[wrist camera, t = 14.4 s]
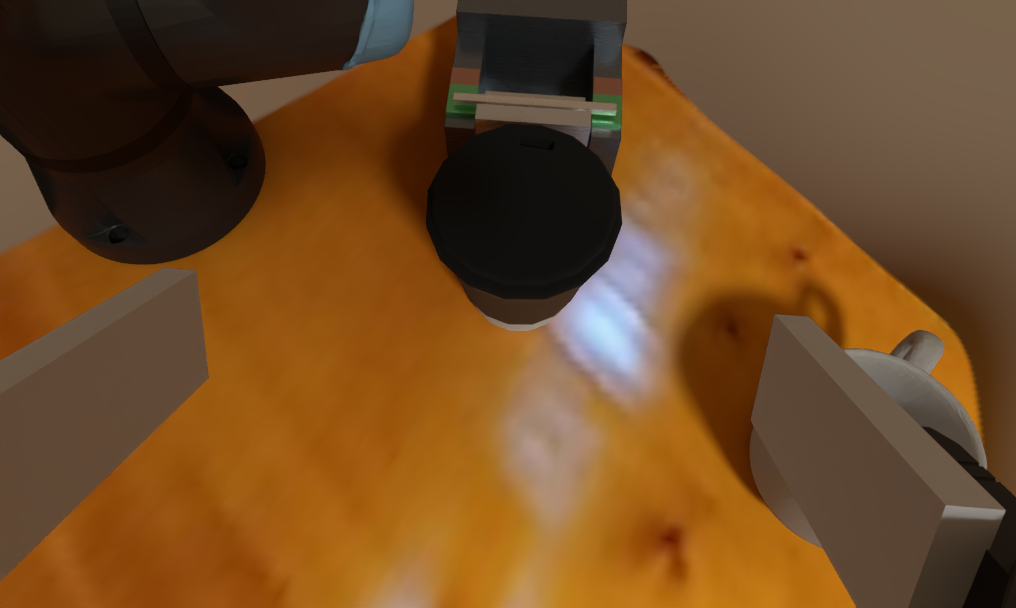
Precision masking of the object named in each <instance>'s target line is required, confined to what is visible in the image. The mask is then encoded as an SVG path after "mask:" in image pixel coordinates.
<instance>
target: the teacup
mask: <svg viewBox="0 0 1016 608" xmlns="http://www.w3.org/2000/svg"><path fill="white" fill-rule="evenodd" d="M842 350H844V351H845V352H846V353H847V354H848V355H849V356H850V357H851V358H852V359H853V360H854V361H855V362H856V363H857V364H858V365H859V366H860V367H861V368H862V369H863V370H864V371H865V372H866V373H867V374H868V375H869V376H870V377H871V378H872V379H873V380H874V381H875V382H876V383H877V384H878V385H879V386H880V387H881V388H882V389H883V390H884V391H885V392H886V393H887V394H888V395H889V396H890V397H891V398H892V399H893V400H894V401H895V402H896V403H897V404H898V405H899V406H900V407H902V408H903V409H904V410H905V411H906V412H907V413H908V414H909V415H910V416H911V417H912V418H913V419H914V420H915V421H916V422H917V423H918V424H919V425H920V426H923V427H931V428H933V429H934V430H936V431H938V432H939V433H941V434H943V435H945V436H946V437H948V438H950V439H951V440H953V441H955V442H956V443H958V444H959V445H961V446H962V447H963V448H964V449H965V450H966V451H967V452H968V453H969V454H970V455H971V456H972V457H973V458H974V459H976V460H977V461H978V462H979V466H983V467H984V468H985V469H986V470H987V462H986V455H985V452H984V448H983V445H982V441H981V438H980V436H979V433H978V431H977V429H976V427H975V424H974V422H973V421H972V420H971V418H970V416H969V415H968V413H967V411H966V410H965V409H964V407H963V406H962V405H961V403H960V402H959V401H958V400H957V399H956V398H955V397H954V396H953V395H952V394H951V393H950V392H949V391H948V390H947V389H946V388H945V387H944V386H943V385H942V384H941V383H939V382H938V381H937V380H936V379H935V378H934V377H932V376H931V375H930V374H929V373H930V372H931V371H932V369H933V368H934V367H935V365H936V364H937V363H938V361H939V359H940V358H941V356H942V354H943V351H944V343H943V342H942V340H941V339H940V338H938V337H937V336H936V335H934V334H932V333H930V332H928V331H924V330H917V331H914V332H912V333H911V334H909V335H908V336H907V337H906V338H905V339H903V340H902V341H901V342H900V343H899V344H898V345H897V346H896V347H895V348H894V350H893V351H892V352H891V353H890V354H885V353H882V352H878V351H874V350H870V349H857V348H853V349H842ZM749 454H750V464H751V470H752V474H753V478H754V480H755V483H756V486H757V488H758V490H759V492H760V494H761V496H762V498H763V500H764V502H765V503H766V505H767V506H768V507H769V509H770V510H771V511H772V513H773V514H774V515H775V516H776V517H777V518H778V519H779V520H780V521H781V522H782V523H783V524H784V525H785V526H786V527H787V528H788V529H790V530H791V531H792V532H793V533H795V534H796V535H798V536H799V537H801V538H802V539H804V540H806V541H808V542H810V543H812V544H814V545H816V546H818V547H821V548H823V547H822V545H821V544H820V542H819V540H818V538H817V537H816V535H815V533H814V531H813V530H812V528H811V526H810V524H809V523H808V521H807V519H806V517H805V516H804V514H803V512H802V510H801V509H800V507H799V505H798V503H797V502H796V500H795V498H794V496H793V495H792V493H791V491H790V489H789V488H788V486H787V484H786V482H785V481H784V479H783V477H782V475H781V473H780V472H779V470H778V468H777V466H776V465H775V463H774V461H773V459H772V458H771V456H770V454H769V452H768V451H767V449H766V447H765V445H764V444H763V442H762V440H761V438H760V437H759V435H758V433H757V431H756V430H755V428H754V427H753V430H752V433H751V439H750V449H749Z"/></svg>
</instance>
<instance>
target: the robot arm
mask: <svg viewBox="0 0 1016 608" xmlns="http://www.w3.org/2000/svg"><path fill="white" fill-rule="evenodd" d="M413 12H414V0H0V135H1V136H2V137H3V138H4V139H5V140H6V141H8V142H9V143H10V144H11V145H12V146H13V147H14V148H15V149H17V150H18V151H19V152H20V153H21V154H22V155H23V156H24V157H25V159H26V161H27V163H28V165H29V167H30V169H31V172H32V174H33V176H34V178H35V180H36V182H37V185H38V187H39V189H40V191H41V193H42V195H43V198H44V200H45V202H46V204H47V206H48V209H49V210H50V212H51V214H52V215H53V217H54V218H55V219H56V221H57V222H58V223H59V225H60V226H61V227H62V228H63V229H64V230H65V231H67V232H68V233H69V234H70V235H71V236H72V237H74V238H75V239H76V240H77V241H78V242H79V243H81V244H82V245H83V246H84V247H86V248H87V249H88V250H90V251H92V252H93V253H95V254H97V255H99V256H101V257H104V258H107V259H110V260H113V261H117V262H121V263H128V264H157V263H164V262H169V261H173V260H177V259H181V258H184V257H187V256H189V255H192V254H194V253H197V252H199V251H201V250H203V249H205V248H207V247H209V246H210V245H212V244H214V243H215V242H217V241H218V240H220V239H221V238H223V237H224V236H225V235H227V234H228V233H229V232H230V231H231V230H232V229H234V228H235V227H236V226H237V225H238V224H239V223H240V222H241V220H242V219H243V218H244V217H245V216H246V214H247V213H248V212H249V210H250V209H251V207H252V206H253V204H254V202H255V201H256V199H257V197H258V195H259V192H260V190H261V187H262V184H263V180H264V175H265V154H264V149H263V146H262V143H261V140H260V138H259V136H258V134H257V132H256V130H255V128H254V127H253V125H252V123H251V121H250V119H249V118H248V116H247V115H246V113H245V112H244V110H243V109H242V108H241V107H240V106H239V105H238V103H237V102H236V101H235V100H233V99H232V98H231V97H230V96H229V95H228V94H226V93H225V92H224V91H223V90H221V89H220V88H219V87H218V86H224V85H232V84H238V83H246V82H253V81H261V80H268V79H275V78H283V77H291V76H298V75H305V74H313V73H320V72H327V71H335V70H349V69H351V68H352V67H354V66H355V65H359V64H363V63H368V62H372V61H377V60H381V59H385V58H389V57H392V56H394V55H396V54H397V53H399V52H400V51H401V50H402V49H403V47H404V46H405V45H406V43H407V41H408V39H409V37H410V33H411V29H412V23H413ZM208 378H209V376H208V367H207V358H206V350H205V341H204V332H203V324H202V315H201V306H200V297H199V289H198V280H197V271H196V270H185V269H172V268H162V269H160V270H159V271H157V272H155V273H153V274H152V275H150V276H148V277H146V278H145V279H143V280H141V281H139V282H138V283H136V284H134V285H132V286H130V287H129V288H127V289H125V290H123V291H122V292H120V293H118V294H116V295H115V296H113V297H111V298H109V299H108V300H106V301H104V302H102V303H101V304H99V305H97V306H95V307H94V308H92V309H90V310H88V311H86V312H85V313H83V314H81V315H79V316H78V317H76V318H74V319H72V320H71V321H69V322H67V323H65V324H64V325H62V326H60V327H58V328H57V329H55V330H53V331H51V332H49V333H48V334H46V335H44V336H42V337H41V338H39V339H37V340H35V341H34V342H32V343H30V344H28V345H27V346H25V347H23V348H21V349H20V350H18V351H16V352H14V353H13V354H11V355H9V356H7V357H5V358H4V359H2V360H0V581H1V580H2V579H3V578H4V577H5V576H6V575H7V574H8V573H9V572H10V571H11V570H12V569H13V568H14V567H15V566H17V565H18V564H19V563H20V562H21V561H22V560H23V559H24V558H25V557H26V556H27V555H28V554H29V553H30V552H31V551H32V550H33V549H34V548H35V547H36V546H37V545H38V544H39V543H40V542H41V541H42V540H43V539H44V538H45V537H46V536H47V535H48V534H49V533H50V532H51V531H52V530H53V529H54V528H55V527H56V526H57V525H59V524H60V523H61V522H62V521H63V520H64V519H65V518H66V517H67V516H68V515H69V514H70V513H71V512H72V511H73V510H74V509H75V508H76V507H77V506H78V505H79V504H80V503H81V502H82V501H83V500H84V499H85V498H86V497H87V496H88V495H89V494H90V493H91V492H92V491H93V490H94V489H95V488H96V487H97V486H98V485H99V484H101V483H102V482H103V481H104V480H105V479H106V478H107V477H108V476H109V475H110V474H111V473H112V472H113V471H114V470H115V469H116V468H117V467H118V466H119V465H120V464H121V463H122V462H123V461H124V460H125V459H126V458H127V457H128V456H129V455H130V454H131V453H132V452H133V451H134V450H135V449H136V448H137V447H138V446H139V445H140V444H141V443H143V442H144V441H145V440H146V439H147V438H148V437H149V436H150V435H151V434H152V433H153V432H154V431H155V430H156V429H157V428H158V427H159V426H160V425H161V424H162V423H163V422H164V421H165V420H166V419H167V418H168V417H169V416H170V415H171V414H172V413H173V412H174V411H175V410H176V409H177V408H178V407H179V406H180V405H181V404H182V403H183V402H184V401H186V400H187V399H188V398H189V397H190V396H191V395H192V394H193V393H194V392H195V391H196V390H197V389H198V388H199V387H200V386H201V385H202V384H203V383H204V382H205V381H206V380H207V379H208ZM750 421H751V423H752V424H753V426H754V428H755V430H756V431H757V433H758V435H759V437H760V438H761V440H762V442H763V444H764V445H765V447H766V449H767V451H768V452H769V454H770V456H771V458H772V459H773V461H774V463H775V465H776V466H777V468H778V470H779V472H780V473H781V475H782V477H783V479H784V481H785V482H786V484H787V486H788V488H789V489H790V491H791V493H792V495H793V496H794V498H795V500H796V502H797V503H798V505H799V507H800V509H801V510H802V512H803V514H804V516H805V517H806V519H807V521H808V523H809V524H810V526H811V528H812V530H813V531H814V533H815V535H816V537H817V538H818V540H819V542H820V544H821V545H822V547H823V549H824V551H825V552H826V554H827V556H828V558H829V560H830V561H831V563H832V565H833V567H834V568H835V570H836V572H837V574H838V575H839V577H840V579H841V581H842V582H843V584H844V586H845V588H846V589H847V591H848V593H849V595H850V596H851V598H852V600H853V602H854V603H855V605H856V607H857V608H1016V497H1015V496H1014V495H1013V494H1012V493H1011V492H1010V491H1009V490H1008V489H1006V488H1005V487H1004V486H1003V485H1002V484H1001V483H1000V482H996V481H995V477H993V475H992V474H991V473H989V472H988V471H987V470H986V469H985V468H984V467H983V466H979V462H978V461H977V460H976V459H974V458H973V457H972V456H971V455H970V454H969V453H968V452H967V451H966V450H965V449H964V448H963V447H962V446H961V445H959V444H958V443H956V442H955V441H953V440H951V439H950V438H948V437H946V436H945V435H943V434H941V433H939V432H938V431H936V430H934V429H933V428H931V427H923V426H920V425H919V424H918V423H917V422H916V421H915V420H914V419H913V418H912V417H911V416H910V415H909V414H908V413H907V412H906V411H905V410H904V409H903V408H902V407H900V406H899V405H898V404H897V403H896V402H895V401H894V400H893V399H892V398H891V397H890V396H889V395H888V394H887V393H886V392H885V391H884V390H883V389H882V388H881V387H880V386H879V385H878V384H877V383H876V382H875V381H874V380H873V379H872V378H871V377H870V376H869V375H868V374H867V373H866V372H865V371H864V370H863V369H862V368H861V367H860V366H859V365H858V364H857V363H856V362H855V361H854V360H853V359H852V358H851V357H850V356H849V355H848V354H847V353H846V352H845V351H844V350H842V349H841V348H840V347H839V346H838V345H837V344H836V343H835V342H834V341H833V340H832V339H831V338H830V337H829V336H828V335H827V334H826V333H825V332H824V331H823V330H822V329H821V328H820V327H819V326H818V325H817V324H816V323H815V322H814V321H813V320H812V319H811V318H810V317H808V316H794V315H781V314H774V319H773V323H772V328H771V332H770V337H769V341H768V345H767V350H766V354H765V359H764V363H763V367H762V372H761V376H760V381H759V385H758V389H757V394H756V398H755V403H754V407H753V411H752V416H751V420H750Z"/></svg>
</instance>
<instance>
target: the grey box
mask: <svg viewBox="0 0 1016 608" xmlns="http://www.w3.org/2000/svg"><path fill="white" fill-rule="evenodd" d="M456 14H457V27H458V37H457V44H456V51H455V58H454V64H453V67H452V73H451V80H450V87H449V93H448V100H447V107H446V119H445V126H444V128H445V136H446V145H447V153H448V156H449V155H450V154H451V153H452V152H454V151H455V150H456V149H457V148H459V147H460V146H461V145H463V144H464V143H465V142H466V141H468V140H469V139H470V138H471V137H473V136H474V135H476V126H475V116H476V108H477V106H467V105H453V96H454V93H468V94H483V95H485V93H486V91H495V92H510V93H524V94H539V95H554V96H568V97H583V98H585V102H599V103H613V104H617V105H616V115H615V116H611V115H597V114H591V129H590V134H589V139H588V144H587V147H588V148H589V149H590V150H592V151H593V152H594V153H595V154H597V155H598V156H599V157H600V159H601V161H602V162H603V163H604V165H605V167H606V168H607V170H608V172H609V174H610V175H612V171H613V167H614V163H615V160H616V156H617V152H618V148H619V145H620V141H621V126H622V42H623V37H624V32H625V28H626V24H627V0H458V4H457V10H456Z"/></svg>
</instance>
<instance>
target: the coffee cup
mask: <svg viewBox="0 0 1016 608" xmlns="http://www.w3.org/2000/svg"><path fill="white" fill-rule="evenodd" d="M426 225H427V230H428V232H429V234H430V237H431V239H432V241H433V244H434V246H435V248H436V251H437V253H438V256H439V258H440V260H441V261H442V262H443V263H444V264H445V265H446V266H447V267H448V268H450V269H451V270H452V271H453V272H454V273H455V274H456V275H457V276H458V278H459V280H460V282H461V284H462V286H463V288H464V290H465V292H466V294H467V296H468V298H469V300H470V301H471V302H472V303H473V304H474V305H475V306H476V308H477V310H478V311H479V312H480V313H481V314H482V315H483V316H484V317H485V318H486V319H487V320H488V321H489V322H490V323H491V324H494V325H496V326H499V327H501V328H504V329H507V330H509V331H530V330H532V329H535V328H537V327H540V326H543V325H545V324H547V323H548V322H550V321H551V320H552V319H553V318H554V317H555V316H556V315H557V314H558V313H559V312H560V311H561V310H562V309H563V308H564V307H565V306H566V305H567V304H568V303H569V302H570V301H571V300H572V298H573V297H574V295H575V294H576V292H577V291H578V289H579V288H580V287H581V286H582V285H583V284H584V283H585V282H586V281H587V280H588V279H589V278H590V277H591V276H592V275H593V274H594V273H596V272H597V271H598V270H599V269H600V268H601V267H602V266H603V265H604V264H605V263H606V262H607V261H608V260H609V257H610V255H611V252H612V249H613V247H614V244H615V242H616V239H617V237H618V234H619V232H620V229H621V226H622V216H621V205H620V193H619V189H618V188H617V186H616V184H615V182H614V181H613V179H612V177H611V175H610V174H609V172H608V170H607V168H606V167H605V165H604V163H603V162H602V161H601V159H600V157H599V156H598V155H597V154H595V153H594V152H593V151H592V150H590V149H589V148H588V147H587V146H585V145H584V144H583V143H581V142H580V141H579V140H578V139H576V138H575V137H574V136H572V135H569V134H566V133H563V132H560V131H557V130H554V129H551V128H548V127H545V126H542V125H504V126H501V127H498V128H495V129H492V130H489V131H486V132H483V133H480V134H477V135H474V136H473V137H471V138H470V139H469V140H468V141H466V142H465V143H464V144H463V145H461V146H460V147H459V148H457V149H456V150H455V151H454V152H452V153H451V154H450V155H449V156H448V158H447V159H446V160H444V162H443V163H442V165H441V167H440V169H439V171H438V173H437V174H436V176H435V178H434V180H433V182H432V183H431V185H430V187H429V189H428V198H427V216H426Z"/></svg>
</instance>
